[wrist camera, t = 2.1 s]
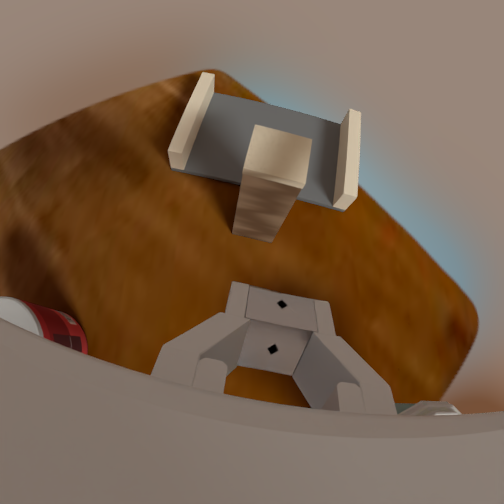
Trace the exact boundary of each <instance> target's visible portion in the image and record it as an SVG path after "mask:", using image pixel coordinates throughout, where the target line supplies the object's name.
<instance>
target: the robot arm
mask: <svg viewBox="0 0 504 504" xmlns="http://www.w3.org/2000/svg"><path fill="white" fill-rule="evenodd" d="M237 365H238V366H244V367H249V368H255V369H261V370H267V371H271V372H276V373H281V374H286V375H291V376H292V377H293V379H294V381H295V382H296V384H297V386H298V387H299V389H300V390H301V392H302V394H303V395H304V397H305V398H306V400H307V402H308V403H309V405H310V406H311V408H304V407H297V406H290V405H283V404H276V403H270V402H264V401H258V400H253V399H247V398H242V397H237V396H232V395H227V394H223V391H224V385H225V379H226V376H227V375H228V374H229V373H230V372H232V371H233V370H234V369H235V368H236V367H237ZM0 504H504V411H503V412H491V413H479V414H461V415H397V411H396V407H395V404H394V400H393V396H392V392H391V389H390V386H389V385H388V384H387V383H386V382H385V381H384V380H383V379H382V378H381V377H380V376H379V375H378V374H377V373H376V372H375V371H374V370H373V369H372V368H371V367H370V366H369V365H368V364H367V363H366V362H365V361H364V360H363V359H362V358H361V357H360V356H359V355H358V354H357V353H356V352H355V351H354V350H353V349H352V348H351V347H350V346H349V345H348V344H347V343H346V342H345V341H344V340H343V339H342V338H341V337H340V336H336V333H335V328H334V323H333V319H332V314H331V309H330V304H329V303H328V302H327V301H322V300H316V299H309V298H304V297H299V296H294V295H288V294H283V293H281V292H277V291H273V290H268V289H264V288H260V287H256V286H252V285H249V284H244V283H240V282H235V281H233V282H232V284H231V289H230V293H229V297H228V302H227V306H226V310H225V313H222V312H220V313H218V314H216V315H214V316H213V317H211V318H209V319H208V320H206V321H204V322H202V323H201V324H199V325H197V326H196V327H194V328H192V329H190V330H189V331H187V332H185V333H183V334H182V335H180V336H178V337H176V338H175V339H173V340H171V341H169V342H168V343H166V344H164V345H163V346H162V349H161V351H160V354H159V356H158V358H157V361H156V363H155V366H154V368H153V371H152V373H151V376H150V375H147V374H144V373H140V372H137V371H134V370H131V369H127V368H124V367H121V366H118V365H115V364H112V363H109V362H106V361H103V360H100V359H97V358H95V357H92V356H89V355H86V354H84V353H81V352H78V351H76V350H73V349H70V348H68V347H65V346H63V345H60V344H58V343H55V342H53V341H51V340H48V339H46V338H43V337H41V336H39V335H36V334H34V333H32V332H30V331H27V330H25V329H23V328H21V327H19V326H17V325H14V324H12V323H10V322H8V321H6V320H4V319H2V318H0Z"/></svg>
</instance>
